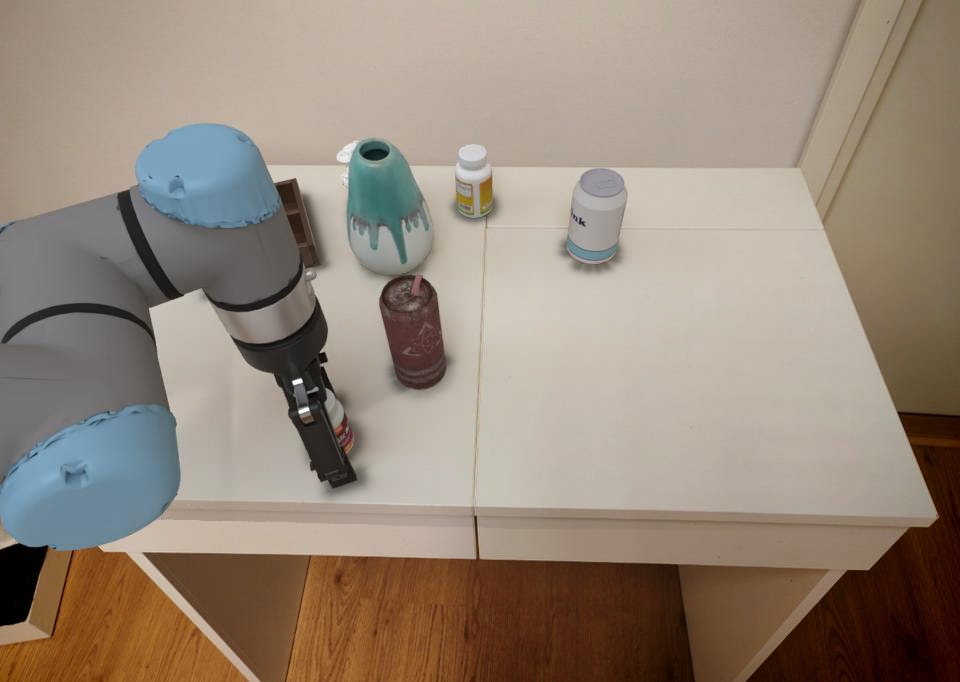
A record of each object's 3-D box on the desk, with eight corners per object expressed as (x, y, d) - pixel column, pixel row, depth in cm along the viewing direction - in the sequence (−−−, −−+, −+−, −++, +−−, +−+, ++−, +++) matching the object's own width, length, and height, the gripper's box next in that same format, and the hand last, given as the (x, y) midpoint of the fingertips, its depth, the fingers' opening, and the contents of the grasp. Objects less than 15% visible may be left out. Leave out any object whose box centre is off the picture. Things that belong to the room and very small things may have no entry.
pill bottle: (342, 467, 64) (324, 429, 58) (304, 454, 66) (282, 415, 59) (362, 430, 67) (347, 390, 60) (325, 418, 68) (306, 377, 62)
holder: (208, 294, 81) (196, 273, 77) (201, 223, 90) (190, 202, 86) (320, 264, 83) (313, 243, 80) (303, 198, 92) (295, 177, 89)
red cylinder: (452, 353, 73) (444, 274, 62) (438, 395, 70) (427, 320, 59) (405, 345, 74) (389, 265, 63) (389, 386, 71) (369, 310, 59)
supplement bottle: (490, 193, 92) (489, 138, 84) (495, 216, 89) (494, 161, 81) (455, 197, 91) (451, 142, 84) (459, 220, 88) (455, 165, 81)
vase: (451, 266, 83) (441, 156, 68) (375, 299, 79) (348, 190, 65) (413, 218, 89) (397, 109, 74) (342, 247, 85) (310, 138, 71)
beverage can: (559, 240, 85) (566, 170, 76) (604, 230, 86) (617, 160, 76) (575, 273, 81) (585, 204, 71) (623, 263, 82) (639, 193, 72)
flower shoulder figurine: (373, 227, 88) (357, 158, 78) (346, 228, 88) (328, 159, 78) (378, 189, 93) (364, 120, 84) (353, 189, 93) (337, 121, 84)
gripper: (345, 407, 43) (392, 520, 60) (296, 215, 56) (347, 355, 73) (239, 440, 41) (319, 546, 59) (214, 235, 54) (286, 373, 72)
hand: (334, 440), depth 66 cm, fingers open, 10 cm apart
